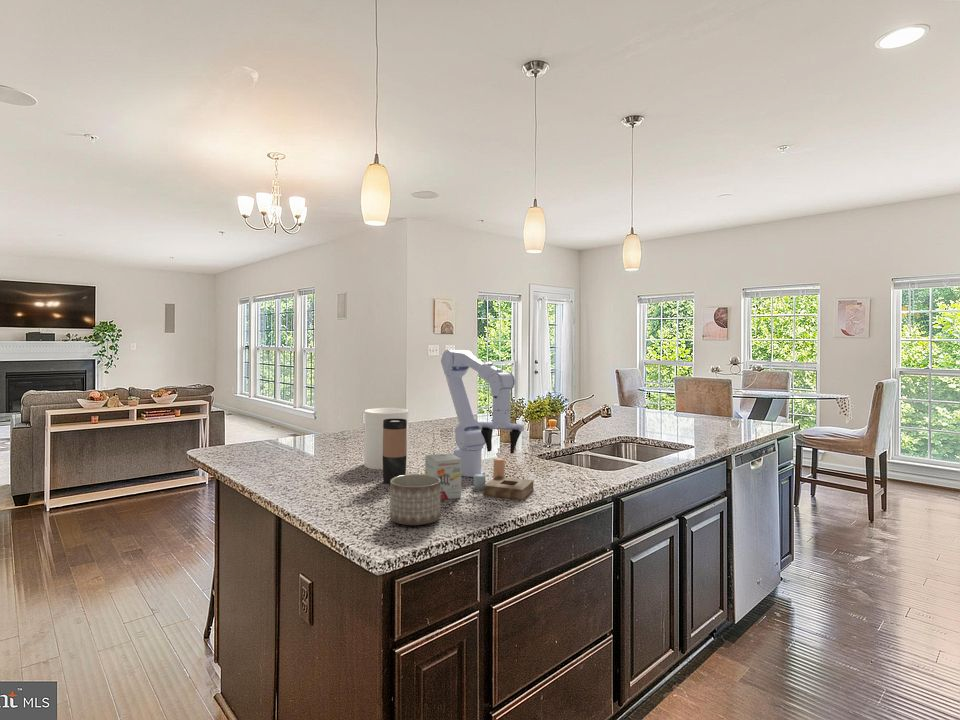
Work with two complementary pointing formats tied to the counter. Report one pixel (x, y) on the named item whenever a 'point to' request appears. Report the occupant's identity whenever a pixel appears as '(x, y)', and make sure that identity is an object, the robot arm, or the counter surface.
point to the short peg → (479, 481)
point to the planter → (415, 499)
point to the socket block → (508, 488)
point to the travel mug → (394, 448)
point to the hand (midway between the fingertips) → (500, 452)
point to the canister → (379, 434)
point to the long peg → (499, 467)
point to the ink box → (446, 473)
